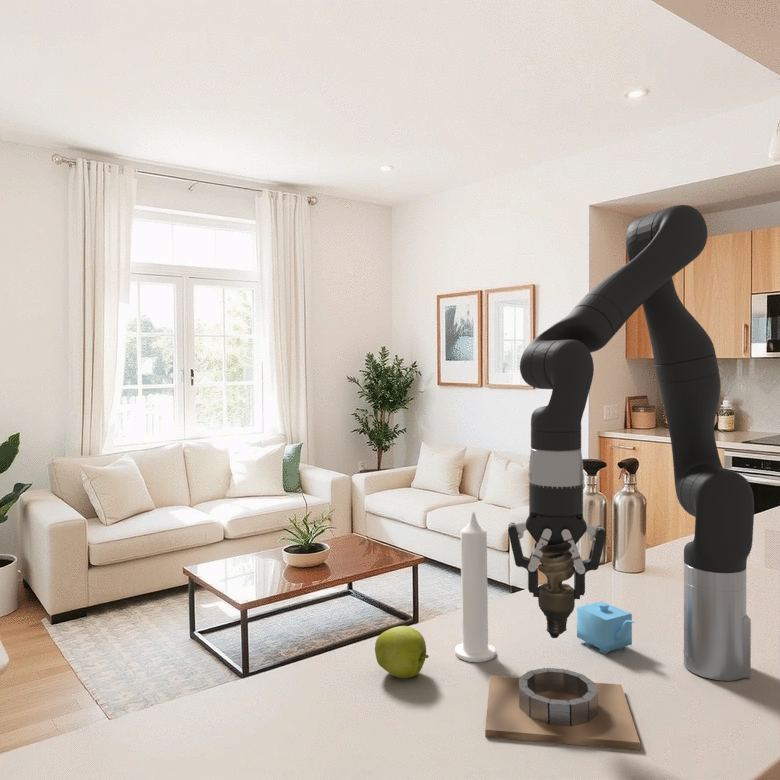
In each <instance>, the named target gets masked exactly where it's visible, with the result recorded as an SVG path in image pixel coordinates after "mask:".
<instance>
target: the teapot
mask: <svg viewBox="0 0 780 780" xmlns="http://www.w3.org/2000/svg"><path fill="white" fill-rule="evenodd" d="M632 614H633V613H631V612H629V611H626V610H624V609H621V608H619V607H617V606H614V605H612V604H609V603H607V602H604V601H601V600H600V601H598V602H594V603H589V604H584V605H582V606H581V605H580V606H577V607H576V637H577V638H578V639H580V640H582V641H584V645H585V646H588V647H592V646H594V647H596V648H598V649H599V653H601V654H609V652H610V651H615V650H617V649H618V650H623V649H624V647H628V646H632V644H633V627H632V626H633V624H634V623H636V622H635V620H633V615H632Z"/></svg>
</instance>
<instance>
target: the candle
mask: <svg viewBox="0 0 780 780" xmlns="http://www.w3.org/2000/svg"><path fill="white" fill-rule="evenodd" d="M487 533H488V532H487V530H486V529H485V528H484V527H482V526H481V525H480V524H479V522H478V520H477V516H476V512H475V511H472V512H471V515H470V519H469V523H468V524H467V525H465V527H463V528H462V529H461V530H460V578H461V579H460V581H461V582H460V583H461V584H460V586H461V587H460V588H461V589H460V590H461V643H459V644H457V645H456V646H455V648H454V654H455V655H456V657H457V658H458V659H460V660H462V661H466V662H470V663H485V662H488V661H491V660H492V659H494V658H495V657H496V648H495V647H494V645H492V644H489V623H488V622H489V617H488V616H489V615H488V614H489V610H488V608H489V607H488V605H489V603H488V597H489V596H488V541H487V540H488V537H487V536H488V534H487Z"/></svg>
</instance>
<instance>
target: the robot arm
mask: <svg viewBox="0 0 780 780" xmlns="http://www.w3.org/2000/svg"><path fill="white" fill-rule="evenodd" d="M708 233H709V232H708V226H707V223H706V220H705V218H704V215H702V213H701V212H700V211H699V210H698V208H695V207H693V206H691V205H688V204H678V205H673V206H672V205H671V206H668V207H666V208H663V209H661V210H658V211H654V212H652V213H650V214H649V213H648V214H646V215H644V216H640V217H639V218H637V219H635V220H633V221H632V222H631V223H630V225H629V226H628V228H627V231H626V234H625V235H626V236H625V248H626V254H627V258H628V262H627V263H625V265H623V266H622V267H620V268H619V269H617V270H616V271H614V272H613V273H612V274H610V275H608V276H607V277H605V278H604V279H603V280H602V281H600V282H599V283H598V284H597V285H595V286H594V287H593V288H592V289H591V290H589V292H587V293H586V294H585V295H584V297H583V298H581V300H580V301H579V302H578V303H577V305H575V307H573V309H571V311H570V312H569V314H568V315H566V316H565V317H564V318H562V319H561V320H559V321H557V322H556V323H554V324H552V325H551V326H549V328H547V329H545V330H544V331H543V332H541V334H539V335H537V337H535V338H533V340H532V341H530V343H529V344H528V345H527V346H526V348H525V349H524V350H523V352H522V355H521V358H520V360H519V361H520V363H519V372H520V374H521V378H522V379H523V381H524V382H525V383H526V384H527V385H528V386H529V387H532V388H535V389H540V390H552V391H551V395H550V399H549V402H548V404H547V405H546V406H545V405H544V406H540V407H538V408H536V409H534V410H533V412H532V414H531V417H530V456H529V461H528V463H529V464H528V482H529V483H528V485H529V486H528V501H529V503H528V505H529V506H528V507H529V508H528V511H529V512H528V513H529V514H528V517H527V519H526V521H524V522H518V523H515V522H510V523H509V524H508V527H507V532H508V536H509V541H510V542H509V543H510V546H511V550H512V554H513V560H514V564H515V565H516V567H518V568H524V569H525V570H526V571H527V577H528V578H527V581H528V582H527V588H528V591H529V593H530V594H532V597H533V598H538V587H539V569H538V565H540V564H539V563H540V562H539V561H540V560H539V559H540V558H542V555H543V553H542V551H541V550H539V549H541V548H542V547H543V546H548V545H557V544H560V543H563V542H565V543H566V542H568V543H571V545H572V546H571V548H570V549H569V551H570V552H571V553H572V557H571V559H572V561H574V567H575V572H574V574H573V589H574V590H575V600H581V596H585V593H586V574H587V572H591V571H596V570H599V567H600V562H601V557H602V553H603V550H604V549H603V548H604V545H605V540H606V536H607V533H606V530H605V527H603V526H602V525H592V524H588V523H587V522H586V520H585V518H584V479H585V474H584V461H583V453H582V419H583V417H584V416H583V415H584V412H585V409H586V405H587V401H588V397H589V394H590V390H591V386H592V382H593V378H594V373H595V372H594V371H595V369H594V360H593V357H592V353H595V352H598V351H599V350H602V348H604V347H605V346H606V345H607V344H608V343H609V342H610V341H611V340H612V339H613V337H614V336H615V335H616V333H618V332H619V331H620V329H621V328H622V327H623V326H624V325H625V323H626V322H627V321H628V320H629V318H631V316H633V314H634V313H635V312H637V310H638V309H639V308H640V307H641V306H642V309H643V312H644V316H645V317H644V318H645V321H646V326H647V331H648V334H649V339H650V344H651V350H652V356H653V361H654V362H653V363H654V367H655V372H656V376H657V377H656V378H657V382H658V388H659V391H660V396H661V401H662V405H663V410H664V414H665V420H666V424H667V428H668V433H669V438H670V443H671V451H672V452H671V454H672V465H673V477H674V488H675V495H676V498H677V500H678V503H679V504H680V506H681V507H682V509H683V510H684V511H685V512H687V513H688V515H691V516H692V517H694V519H695V521H694V523H695V524H694V538H693V540H691V541H690V542H687V543H686V544H685V545H684V548H683V664H684V666H685V668H686V669H687V670H689V671H690V672H691V673H693V674H696V675H697V676H700V677H703V678H707V679H711V680H715V681H716V680H717V681H726V682H727V681H729V682H731V681H736V680H741V679H750V678H751V675H752V674H751V673H752V672H751V671H752V670H751V669H752V668H751V667H752V665H751V664H752V663H751V661H752V660H751V659H752V658H751V657H752V652H751V651H752V648H751V645H752V641H751V640H752V639H751V638H752V622H751V618H750V617H749V615H748V614H747V561H748V557H749V556H750V553H751V551H752V546H753V539H754V538H753V537H754V536H753V535H754V523H755V522H754V520H755V498H754V493H753V489H752V487H751V485H750V483H749V481H748V480H747V479H746V477H744V476H743V475H742V474H740V473H738V472H737V471H734V470H731V469H728V468H724V467H723V465H722V461H721V459H720V455H719V450H718V447H717V441H716V436H715V425H716V424H715V422H716V416H717V411H718V407H719V403H720V402H719V401H720V396H721V395H720V394H721V384H722V383H721V376H720V375H721V374H720V370H719V369H720V368H719V363H718V359H717V354H716V350H715V349H716V348H715V345H714V343H713V341H712V338H711V336H710V335H709V334H708V333H707V331H706V330H705V329H704V327H703V326H702V325H701V324H700V322H699V321H697V319H696V318H695V317H694V316H693V315H692V314H691V313H690V312H689V310H688V309H687V308H686V306H684V304H683V303H682V301H681V299H680V297H679V295H678V293H677V291H676V287H675V284H674V283H675V282H674V280H673V277H674V276H675V275H676V274H678V273H679V272H680V271H681V270H683V269H684V268H686V267H687V266H688V265H689V264H690V263H692V262H694V261H695V259H697V258H698V257H699V256H700V255H701V253H702V252H703V251H704V250H705V247H706V244H707V241H708ZM526 530H527V532H528V533H529V535H530V536H531V537H532V538H533V540H534V541H535V542H534V544H533V547H532V550H531V553H530V555H529V557H526V556H525V555H524V554H523V548H522V544H521V539H523V538H524V536H525V535H524V533H525V531H526ZM585 533H587V534H588V538H589V539H588V540H589V541H590V542H591V546H590V550H589V554H588V558H587V559H583V558H582V556H581V553H580V552H579V548H578V546H577V544H578V543H579V541H580V540H581V538H582V537H583V536H584V534H585ZM572 550H574V551H572Z"/></svg>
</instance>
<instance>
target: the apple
mask: <svg viewBox="0 0 780 780" xmlns="http://www.w3.org/2000/svg"><path fill="white" fill-rule="evenodd" d="M374 645H375V646H374V652H375V658H376V662H377V663H378V664H377V665H379V666H380V667H381V668H382V669H384V670H385V671H386V672H387V673H389V674H390V675H392V676H393V677H396V678H398V679H399V678H400V679H410V678H414V677H415V676H417V675H418V674H419V673H420V672H421V670H422V669H423V666H424V664H425V661H426V659H428V658H429V657H430V656H429V655H428V654H427V644H426V641H425V638H424V636H423V634H422V633H420V631H419V630H417V629H415V628H414V627H412V626H408V625H399V626H394V627H391V628H389V629H387V630H385V631H383V632H382V633H380V635H379V636H378V637H377V638H376V641H375V644H374Z"/></svg>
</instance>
